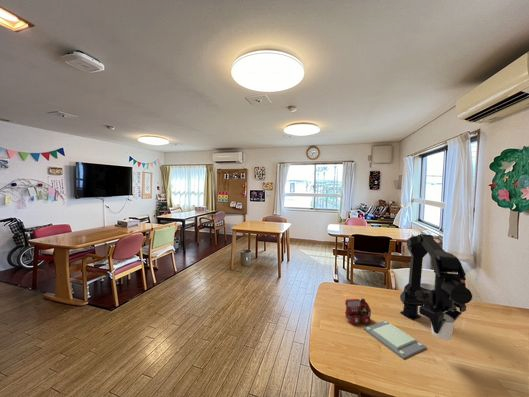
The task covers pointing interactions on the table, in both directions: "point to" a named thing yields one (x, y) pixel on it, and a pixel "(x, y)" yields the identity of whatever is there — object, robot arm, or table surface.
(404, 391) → the table surface
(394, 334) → the baseplate
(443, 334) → the shot glass
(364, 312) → the toy fire truck
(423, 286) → the coffee mug
